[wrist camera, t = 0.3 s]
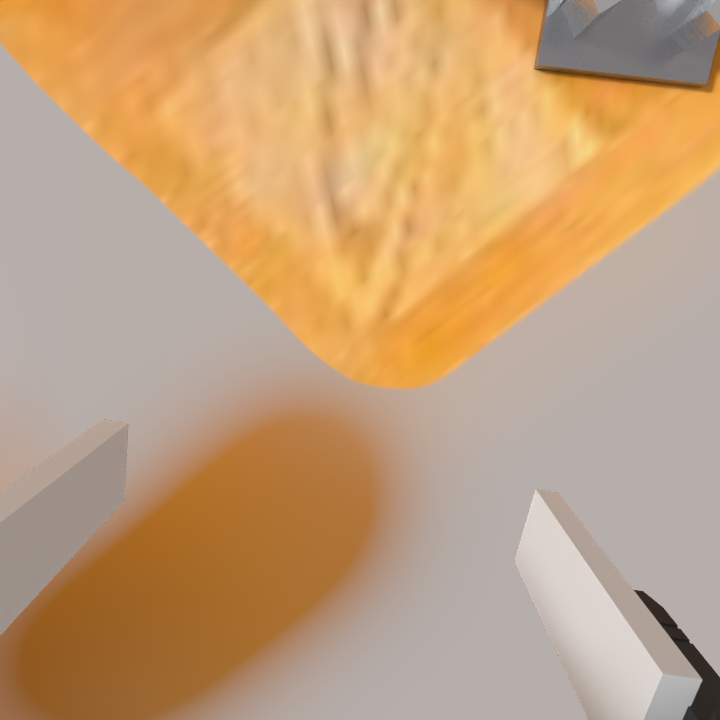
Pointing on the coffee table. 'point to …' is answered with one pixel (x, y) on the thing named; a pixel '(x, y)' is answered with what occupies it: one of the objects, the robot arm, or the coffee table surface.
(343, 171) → the coffee table surface
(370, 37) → the coffee table surface
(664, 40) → the grey square base
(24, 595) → the robot arm
